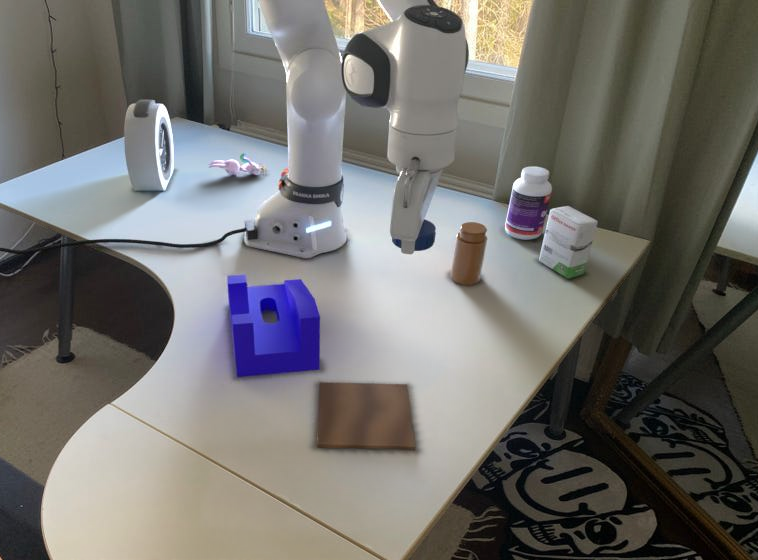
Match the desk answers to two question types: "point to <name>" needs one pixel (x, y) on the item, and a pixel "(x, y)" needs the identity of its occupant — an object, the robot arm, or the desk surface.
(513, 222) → the pill bottle
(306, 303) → the bracket
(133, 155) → the alarm clock
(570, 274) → the ink box
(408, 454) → the desk surface
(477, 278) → the jar
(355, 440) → the coaster
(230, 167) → the rabbit figure
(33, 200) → the desk surface
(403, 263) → the desk surface
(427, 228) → the lid
